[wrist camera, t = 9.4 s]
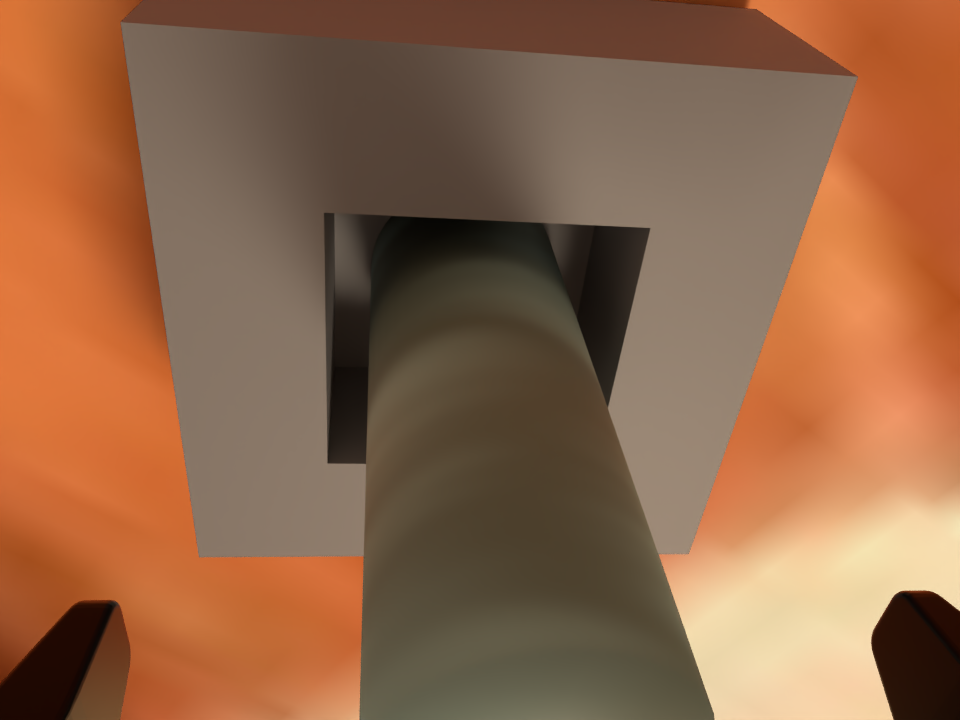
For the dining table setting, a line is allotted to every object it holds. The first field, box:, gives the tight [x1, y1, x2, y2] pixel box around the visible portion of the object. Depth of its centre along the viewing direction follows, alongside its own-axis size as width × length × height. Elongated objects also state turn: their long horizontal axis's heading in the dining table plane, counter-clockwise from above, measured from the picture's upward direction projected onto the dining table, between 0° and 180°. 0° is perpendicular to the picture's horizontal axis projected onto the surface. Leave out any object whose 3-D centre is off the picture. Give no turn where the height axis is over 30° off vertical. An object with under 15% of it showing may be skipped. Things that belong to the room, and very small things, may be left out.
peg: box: [360, 216, 714, 720], centre depth 12 cm, size 4×4×10 cm
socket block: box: [121, 0, 858, 557], centre depth 16 cm, size 10×10×4 cm
